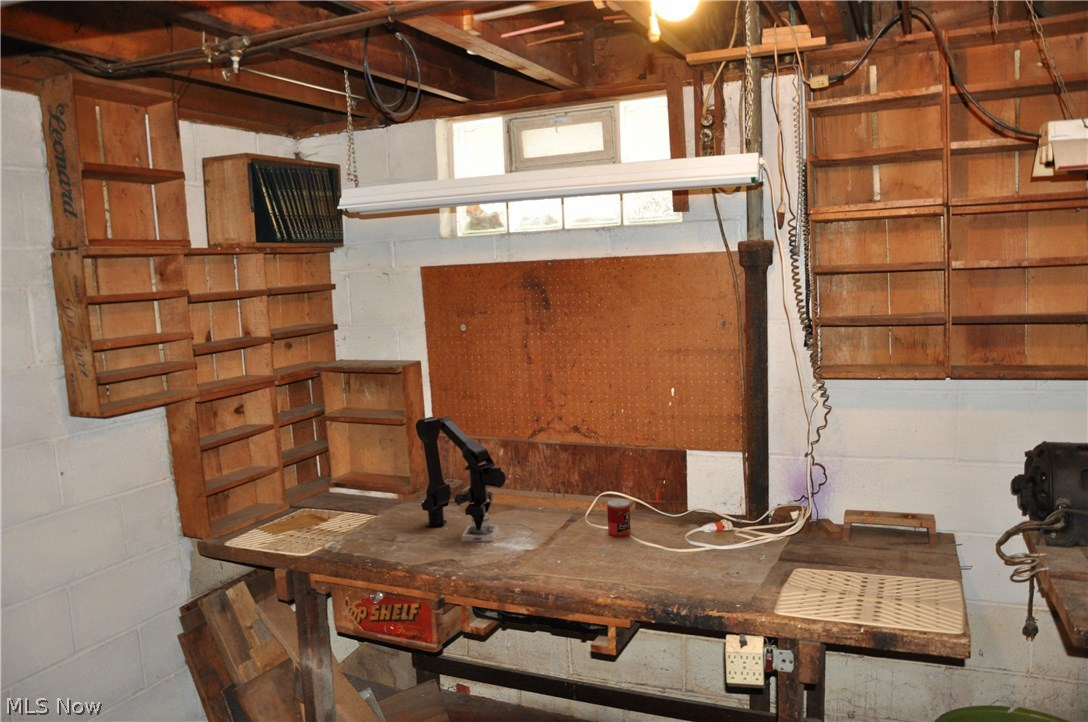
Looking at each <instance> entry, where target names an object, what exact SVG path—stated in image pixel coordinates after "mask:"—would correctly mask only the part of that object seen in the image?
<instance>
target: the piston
mask: <svg viewBox="0 0 1088 722" xmlns="http://www.w3.org/2000/svg"><path fill="white" fill-rule="evenodd" d="M471 525H472V531H471V532H473V534H474V533H475V534H485V533H488V531H489V530H490V528H489V525H490V514H489V511H488V512H486V513H485V516H484V520H483V523H482V526H481V529H480V530H477V528H476V525H475V522H474V519H473V517H472V516H471Z"/></svg>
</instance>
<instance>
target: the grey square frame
mask: <svg viewBox="0 0 1088 722" xmlns="http://www.w3.org/2000/svg"><path fill="white" fill-rule="evenodd" d="M489 528H490V530H489V531H493V532H491V534H471V532H473V531H472V524H468V525H467V527H466V528H465V529H464V531H463V533H462V534H461V542H494V541H495V540H496V538H497V535H498V534H499V531H500V526H499V524H496V525H495V524H489ZM469 533H470V534H469ZM495 537H496V538H495ZM494 539H495V540H494Z"/></svg>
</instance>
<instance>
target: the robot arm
mask: <svg viewBox="0 0 1088 722" xmlns="http://www.w3.org/2000/svg"><path fill="white" fill-rule="evenodd" d="M415 430H416V435H417V437H418V439H419V440H420V441H421V442H422V444H423V449H424V450H423V451H424V456H425V463H426V469H427V474H428V475H427V477H428V485H427V487H426V492H425V493H426V498H425V499H424V501H423V502H422V503H421V509H422V510H423V511H426V512H427V518H428V519H427V521H428V522H427V523H426V524H425V527H426V528H443V527H444V526H445V525H446V524H447V522H448V520H447V519H445V514H444V513H445V512H444V508H446V507H448V506H449V503H450V500H451V498H452V496H451V495H452V492H451V484H449V483H446V482H445V480H444V478H443V477H444V476H443V471H442V470H443V469H442V464H441V458H440V453H439V446H438V440H439V437H440V433H441V432H442V433H443V434H444V435H445V437H447V438H448V439H449V440H450V441H451V442H452V443H453V444H454V445H455V446H456V447H457V448H458V449H459V450H460V452H461V454H462V458H463V459H464V460H465V462H466V464H467V466H465V468H464V470H465V471H469V485H470V486H469V487H468V489H467V490H463V491H460V492H458V493H456V494H455V495H454V496H453V498H454V501H453V502H454V503H456V505H457V506H460V505H461V504H464V503H468V505H467V506H466V507H465V509H464V512H465V513H464V515H465V516H470V517H471V518H472V517H473V519H474V522H475V525H476V528H477V530H480V529H481V526H482V523H483V520H484V516H485V513H486V512H488V513H489V510H490V507H491V505H492V501H493V500H494V493H493V492H491V491H488V488H489V487H492V488H497V489H499V488H503V486H504V485H505V483H506V480H507V479H506V478H507V477H506V475H505V472H504V471H502V468H501V466H496V465H495V463H494V462H495V461H494V460H493V459H492V457H491V455H490V453H489V450H488V449H487V448H486V447H485V446H484V445H482V444H481V443H480V442H476V441H473V440H472V439H470V438H469V437H468V436H467V435H466V434H465V433H464V432H463V431H462V430H461V429H460V428H459V426H457V424H455V423H454V422H453V421H452V419H451V418H450V416H444V417H439V418H438V417H435V416H428V417H425V418H421V419H418V420H417V421H416V423H415ZM488 500H489V501H488Z"/></svg>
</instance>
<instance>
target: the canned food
mask: <svg viewBox="0 0 1088 722" xmlns="http://www.w3.org/2000/svg"><path fill="white" fill-rule="evenodd" d="M630 503H631V502H630V501H628V500H627V499H619V498H618V499H617V498H615V499H610V500H608V501H607V504H606V506H607V507H606V508H607V509H606V510H607V511H606V512H607V532H608V534H609V536H612V537H615V538H625V537H628V536H629V535H630V534H631V504H630Z"/></svg>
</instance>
